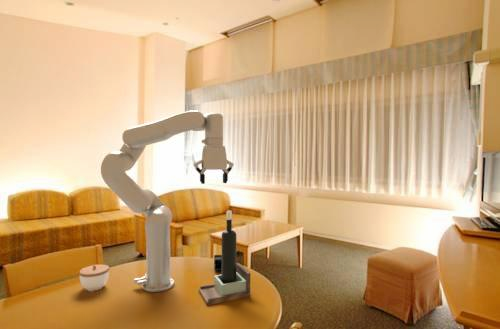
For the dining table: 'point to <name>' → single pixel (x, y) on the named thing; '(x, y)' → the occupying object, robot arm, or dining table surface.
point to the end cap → (218, 263)
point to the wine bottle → (229, 252)
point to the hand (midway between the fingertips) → (214, 183)
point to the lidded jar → (94, 276)
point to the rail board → (214, 297)
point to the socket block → (230, 285)
